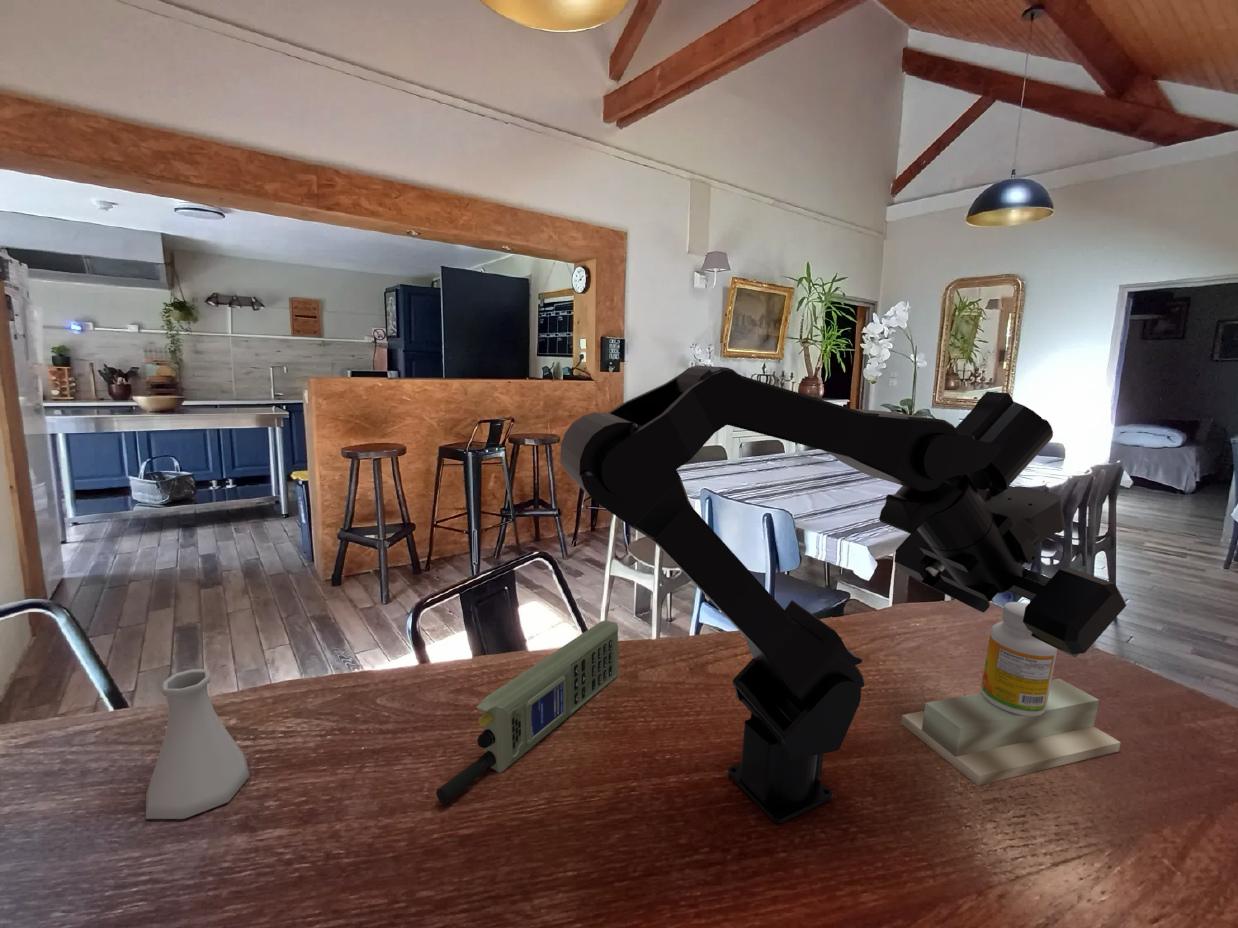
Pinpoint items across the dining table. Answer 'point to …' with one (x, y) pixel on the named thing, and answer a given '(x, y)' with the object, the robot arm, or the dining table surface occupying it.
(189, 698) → the flask
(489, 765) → the handheld radio
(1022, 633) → the supplement bottle
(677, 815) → the dining table surface
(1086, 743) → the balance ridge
